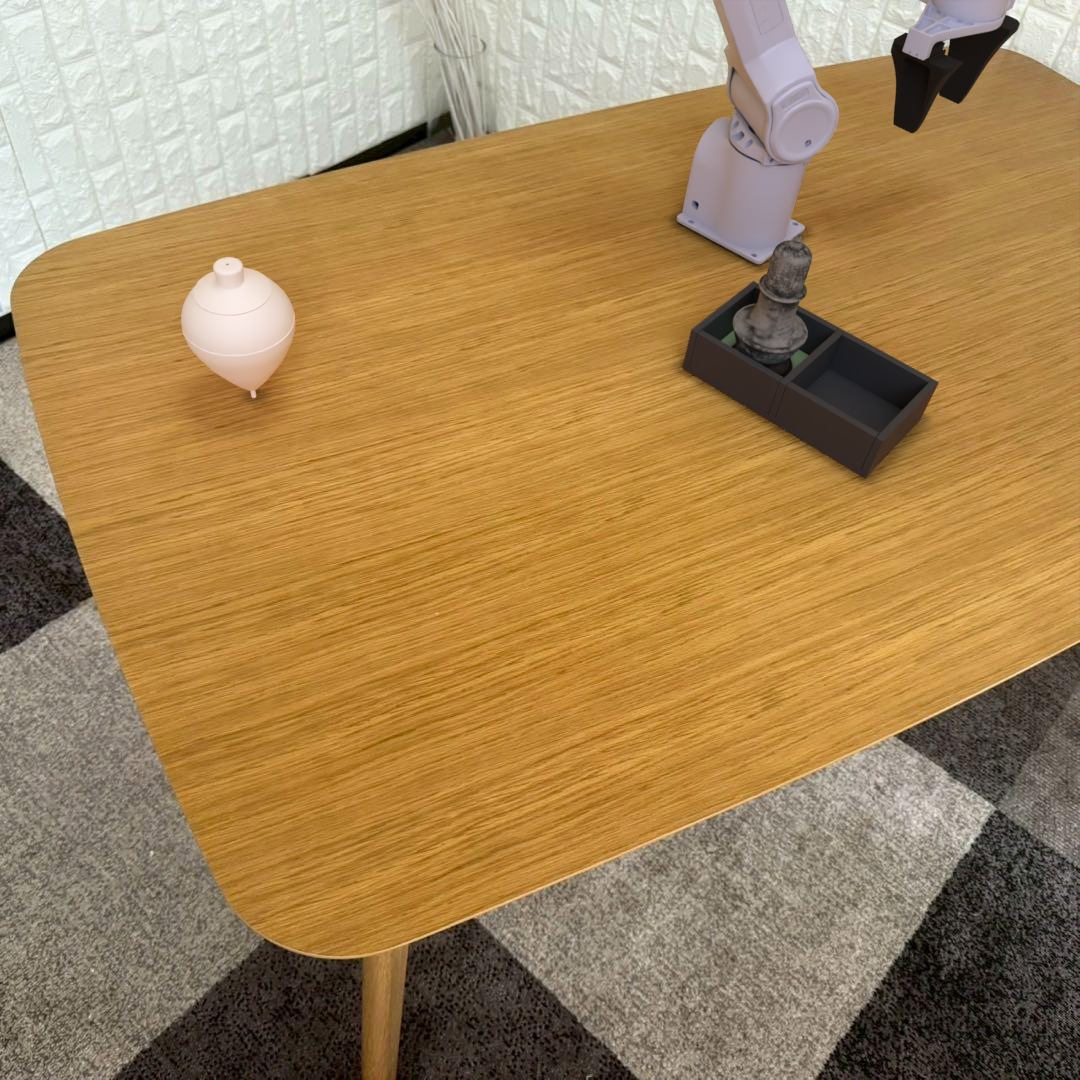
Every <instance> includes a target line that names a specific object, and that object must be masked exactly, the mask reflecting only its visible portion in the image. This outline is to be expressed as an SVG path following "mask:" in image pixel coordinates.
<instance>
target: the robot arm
mask: <svg viewBox="0 0 1080 1080" xmlns="http://www.w3.org/2000/svg"><path fill="white" fill-rule="evenodd" d="M918 1H919V2H920V3H923V4H925V7H924V9H923V11H922V13H921V14H920V16H919V19H917V22H915V24H913V25H912V26H910V27H909V29H908V31H907V32H904V33H901V34H900V35H898V36H897V37H895V38H894V39H893V42H892V44H891V48H890V54H891V55H890V56H891V58H892V62H893V67H894V68H893V69H894V75H895V96H894V107H893V122H892V123H893V126H895V127H897V128H899V129H901V130H903V131H906V132H908V133H910V134H915V133H917V132H918V130H920V128H921V126H922V125H923V124H924V122H925V120H926V118H927V115H929V112H930V110H931V108H932V106H933V105H934V103H935V100H936V98H937V97H938V96H940V97H942V98H944V99H946V100H948V101H950V102H953V103H955V104H957V105H960V104H962V103H963V101H964V100H965V99H966V98H967V96H968V95H969V93H970V92H971V90H972V89H973V87H974V85H975V84H976V82H977V80H978V79H979V78H980V76H981V74H982V73H983V71H984V69H985V68H986V67H987V65H988V64H989V62H990V61H991V60H992V58H993V57H994V56H995V55H996V54H997V52H999V50H1000V49H1001V48H1002V46H1004V45H1005V43H1006V42H1008V40H1009V39H1011V38H1012V36H1014V35H1015V34H1016V33H1017V32H1018V30H1019V27H1020V26H1021V25H1020V24H1021V23H1020V21H1019V19H1017V18H1015V17H1013V16H1010V15H1007V12H1008V11H1010V10H1011V9H1013V7H1014V4H1015V2H1016V0H918ZM712 3H713V6H714V8H715V11H716V14H717V16H718V19H719V22H720V25H721V28H722V31H723V33H724V35H725V36H724V37H725V39H726V42H727V45H726V46H725V47H724V49H723V52H724V56H725V59H726V62H727V75H726V82H725V84H726V86H725V88H726V89H725V91H726V95H727V97H728V100H729V101H730V103H731V105H732V106H734V107H733V111H732V115H731V117H728V116H721V117H719V118H717V119H715V120H714V121H713V122H712V123H711V124H710V125H709V126H708V127H707V128H706V130H705V131H704V132H703V133H702V136H701V138H700V140H699V141H698V144H697V146H696V149H695V151H694V154H693V157H692V160H691V166H690V171H689V176H688V180H687V186H686V191H685V196H684V200H683V206H682V209H681V212H680V213H679V214H677V216H676V222H677V223H679V224H681V225H682V226H684V227H686V228H688V229H690V230H692V231H693V232H695V233H697V234H699V235H701V236H702V237H705V238H707V239H709V240H710V241H712V242H714V243H716V244H718V245H719V246H722V247H723V248H725V249H727V250H729V251H731V252H733V253H735V254H737V255H738V256H740V257H742V258H744V259H745V260H748V261H749V262H751V263H754V264H755V265H762V264H764V263H765V262H766V261H767V260H769V259H771V258H772V254H773V251H774V249H775V247H776V246H777V245H778V244H780V243H781V242H783V241H787V240H793V237H795V236H796V235H798V234H800V235H801V234H803V233H804V231H805V229H806V226H805V225H804V224H803V223H801V222H799V221H797V220H795V219H793V218H792V216H793V213H794V209H795V206H796V203H797V199H798V197H799V193H800V190H801V187H802V183H803V180H804V177H805V174H806V170H807V167H808V163H811V162H812V161H813V157H815V156H816V155H818V154H819V153H820V152H821V151H822V150H823V149H824V148H825V147H826V146H827V145H828V144H829V143H830V141H831V140H832V138H833V136H834V135H835V132H836V130H837V128H838V126H839V125H838V124H839V121H840V120H839V118H840V110H839V107H838V104H837V101H836V100H835V99H834V97H833V96H832V95H830V93H828V92H827V91H826V90H824V88H822V87H821V85H820V84H819V81H818V78H817V74H816V71H815V70H814V67H813V66H812V63H811V62H810V60H809V58H808V56H807V55H806V52H805V50H804V49H803V47H802V45H801V43H800V41H799V39H798V37H797V35H796V31H795V28H794V24H793V21H792V17H791V13H790V11H789V7H788V4H787V1H786V0H712ZM946 41H949V44H948V49H945V45H946ZM946 52H947V54H946Z"/></svg>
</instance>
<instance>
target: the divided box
mask: <svg viewBox="0 0 1080 1080" xmlns="http://www.w3.org/2000/svg"><path fill="white" fill-rule="evenodd" d="M760 291H761V290H760V288H759V282H756V281H754V280H753V281H751V282H750V283H749V284H748V285H747V286H745V287H744V288H742V289H741V290H740V291H739V292H737V293H736V294H735V295H733V296H732V297H731V298H730V299H728V300H727V301H725V303H723V304H722V305H721V306H719V307H718V308H717V309H716V310H714V311H713V312H712V313H711V314H709V315H708V316H707V317H706V318H704V319H703V320H701V321H700V322H699V323H698V324H696V325H695V326H694V327H692V329H690V333H689V337H688V342H687V346H686V351H685V355H684V359H683V362H682V363H683V364H682V370H684V371H686V372H688V373H690V374H691V375H693V376H694V377H696V378H698V379H699V380H701V381H702V382H705V383H706V384H707V385H709V386H711V387H713V388H714V389H715V390H717V391H719V392H721V393H722V394H724V395H726V396H728V397H729V398H731V399H732V400H734V401H736V402H738V403H739V404H741V405H742V406H743V407H746V408H747V409H749V410H751V411H752V412H754V413H755V414H758V415H759V416H760V417H763V418H764V419H766V420H767V421H769V422H770V423H772V424H774V425H775V426H778V427H779V428H781V429H782V430H784V431H785V432H787V433H789V434H790V435H792V436H794V437H795V438H797V439H799V440H801V441H802V442H804V443H805V444H807V445H809V446H810V447H812V448H814V449H816V450H818V451H819V452H820V453H822V454H824V455H825V456H827V457H829V458H830V459H832V460H834V461H835V462H837V463H839V464H840V465H842V466H843V467H846V468H847V469H849V470H850V471H852V472H854V473H855V474H857V475H859V476H861V477H862V478H863V479H866V478H868V476H869V475H871V474H872V472H873V471H874V470H875V469H876V468H877V467H878V466H879V465H880V463H882V462H883V460H884V459H885V458H886V457H887V456H888V455H890V453H891V452H892V451H893V450H894V449H895V448H896V447H897V446H898V445H899V443H901V441H902V440H903V439H904V438H905V437H906V436H907V435H908V434H909V432H910V431H911V430H913V428H914V427H915V426H916V425H917V424H918V423H919V422H920V421H921V420H922V417H923V415H924V413H925V411H926V409H927V407H928V405H929V404H930V401H931V399H932V398H933V395H934V394H935V391H936V390H937V388H938V386H939V384H940V382H939V381H938V380H936V379H934V378H932V377H930V376H928V375H927V374H926V373H923V372H921V371H920V370H918V369H916V368H914V367H912V366H910V365H909V364H906V363H905V362H903V361H901V360H899V359H898V358H896V357H894V356H892V355H890V354H888V352H887V353H886V352H884V351H883V350H881V349H879V348H878V347H875V346H873V344H870V343H868V342H866V341H865V340H863V339H862V338H861V339H860V338H859V337H857V336H856V335H854V334H852V333H850V332H848V331H846V330H844V329H842V328H840V327H839V326H837V325H835V324H833V323H832V322H830V321H828V320H826V319H825V318H823V317H821V316H819V315H817V314H816V313H813V312H812V311H809V310H808V309H806V308H804V307H802V306H800V304H799V305H798V308H797V311H796V314H797V315H798V316H799V317H800V318H801V319H802V320H803V322H804V323H805V325H806V327H807V330H808V335H807V340H806V341H805V343H804V345H802V346H801V347H800V348H799V349H798V350H797V352H796V353H795V354H794V355H793V356H792V357H790V358H791V361H792V364H793V365H792V371H791V372H790V373H789V374H788V375H786V376H785V377H784V378H783V377H782V376H780V375H779V374H777V373H775V372H773V371H772V370H770V369H768V368H767V367H765V366H763V365H761V364H760V363H758V362H756V361H754V360H753V359H751V358H749V357H748V356H746V355H744V354H742V353H741V352H739V351H737V350H735V349H734V348H732V347H731V346H733V345H734V344H735V343H736V339H735V334H734V328H733V318H734V316H735V314H736V313H737V311H739V310H740V309H741V308H743V307H745V306H748V305H750V304H756V303H757V302H758V298H759V295H760Z"/></svg>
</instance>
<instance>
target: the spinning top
mask: <svg viewBox="0 0 1080 1080" xmlns="http://www.w3.org/2000/svg"><path fill="white" fill-rule="evenodd" d="M212 269H213V271H210V272H209V273H207V274H205V275H204V276H202V277H201V278H199V280H198V281H197V282H196V284H195V285H194V286H193V287H192V289H191V290H190V291H189V293H188V295H186V298H185V300H184V302H183V305H182V308H181V314H180V324H181V325H180V327H181V331H182V334H183V337H184V339H185V342H186V343H187V345H188V348H189V349H190V350H191V352H192V353H193V354H194V355H195V356H196V357H197V359H199V360H200V361H201V362H202V363H203V364H204V365H205V366H206V367H207V368H208V369H210V370H211V371H212V372H213V373H214V374H216V375H218V377H221V378H222V379H224V380H226V381H227V382H229V383H231V384H233V386H237V387H238V388H240V389H243V390H246V391H249V392H250V396H251V398H252V399H256V398H257V392H256V391H257V390H258V389H259V388H261V387H262V386H263V385H264V384H265V383H266V382H267V381H268V380H269V379H270V378H271V377H272V375H273V374H274V373H275V372H276V371H277V369H278V368H279V367H280V366H281V364H282V363H283V362H284V359H285V358H286V355H287V354H288V351H289V350H290V347H291V345H292V342H293V340H294V337H295V333H296V314H295V310H294V307H293V304H292V302H291V300H290V298H289V297H288V295H287V293H286V292H285V291H284V290H283V289H282V287H281V286H280V285H278V284H277V283H276V282H275V281H273V280H272V279H271V278H269V277H267V276H266V275H265V274H263V273H261V271H258V270H256V269H253V268H250V267H244V264H243V262H242V260H240V259H238V258H237V257H234V256H226V257H221V258H219V259H217V260H216V261H215V262H214V263H213V265H212Z"/></svg>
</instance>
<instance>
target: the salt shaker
mask: <svg viewBox="0 0 1080 1080" xmlns="http://www.w3.org/2000/svg"><path fill="white" fill-rule="evenodd" d="M803 241H804V239H803V237H802V235H801V234H798V235H796V236H795V237H793V240H787V241H783V242H781V243H780V244H778V245H777V246H776V247H775V249H774V251H773V254H772V256H771V257H770V262H769V264H768V268H767V271H766V273H765V274H764V275H762V276H761V277H760V279H759V280H758V284H759V288H760V290H761V291H760V295H759V298H758V302H757V303H756V304H750V305H748V306H745V307H743V308H741V309H740V310H739V311H737V313H736V314H735V316H734V318H733V328H734V334H735V339H736V343H735V344H734V345H733V346H731V347H732V348H734V349H735V350H737V351H739V352H741V353H742V354H744V355H746V356H748V357H749V358H751V359H753V360H754V361H756V362H758V363H760V364H761V365H763V366H765V367H767V368H768V369H770V370H772V371H773V372H775V373H777V374H779V375H780V376H782V377H783V378H784V377H785V376H786V375H788V374H789V373H790V372H791V371H792V365H793V364H792V361H791V358H790V357H792V356H793V355H794V354H795V353H796V352H797V350H798V349H799V348H800V347H801V346H802V345H804V343H805V341H806V340H807V335H808V330H807V327H806V325H805V323H804V322H803V320H802V319H801V318H800V317H799V316H798V315H797V314H796V311H797V308H798V305H799V306H800V302H801V301H803V300H804V299H805V297H806V296H807V293H808V289H807V286H806V284H805V283H806V280H807V277H808V274H809V271H810V268H811V266H812V263H813V253H812V251H811V249H810V248H809V246H808V245H806V244H805V243H803Z"/></svg>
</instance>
